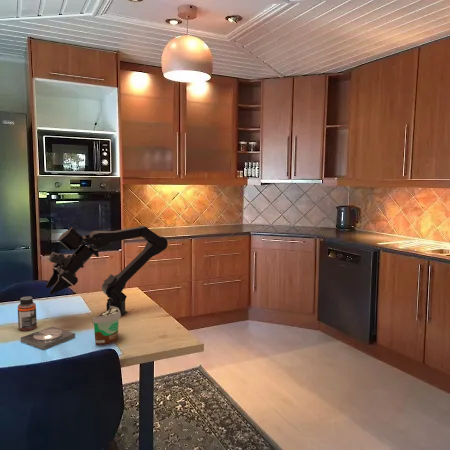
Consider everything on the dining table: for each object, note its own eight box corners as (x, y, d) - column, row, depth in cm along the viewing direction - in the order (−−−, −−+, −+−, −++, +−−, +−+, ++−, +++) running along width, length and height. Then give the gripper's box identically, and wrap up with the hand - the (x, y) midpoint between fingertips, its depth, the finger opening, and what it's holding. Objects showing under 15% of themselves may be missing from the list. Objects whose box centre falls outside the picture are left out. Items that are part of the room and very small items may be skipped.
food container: (110, 348, 131) (110, 318, 130) (93, 346, 132) (92, 316, 131) (127, 334, 143) (127, 306, 142) (111, 332, 144) (110, 305, 143)
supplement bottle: (22, 325, 150) (21, 295, 148) (39, 325, 150) (38, 295, 149) (15, 331, 144) (14, 300, 142) (33, 331, 144) (32, 300, 143)
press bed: (52, 330, 145) (52, 325, 145) (75, 337, 139) (75, 332, 139) (20, 341, 135) (20, 336, 135) (43, 350, 129) (43, 344, 129)
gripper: (58, 240, 158) (27, 271, 154) (67, 248, 142) (33, 282, 138) (79, 259, 163) (50, 289, 158) (91, 268, 147) (59, 302, 143)
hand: (48, 290), depth 149 cm, fingers open, 9 cm apart
